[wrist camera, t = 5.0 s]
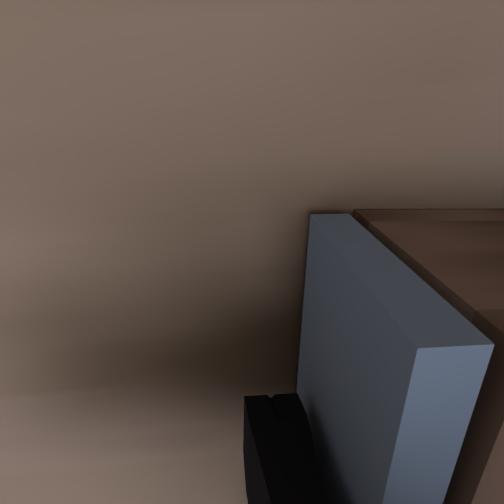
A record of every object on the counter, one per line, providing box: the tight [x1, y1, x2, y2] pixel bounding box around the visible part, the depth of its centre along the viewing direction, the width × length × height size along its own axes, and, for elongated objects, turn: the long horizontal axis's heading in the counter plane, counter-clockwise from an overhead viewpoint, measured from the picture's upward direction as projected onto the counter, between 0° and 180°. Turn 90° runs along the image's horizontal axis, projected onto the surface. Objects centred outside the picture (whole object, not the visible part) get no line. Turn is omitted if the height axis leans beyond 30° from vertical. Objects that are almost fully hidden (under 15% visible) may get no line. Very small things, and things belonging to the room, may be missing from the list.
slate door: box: [296, 214, 495, 504], centre depth 10 cm, size 2×13×5 cm, turn 179°
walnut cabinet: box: [353, 209, 504, 504], centre depth 10 cm, size 8×13×6 cm, turn 179°
